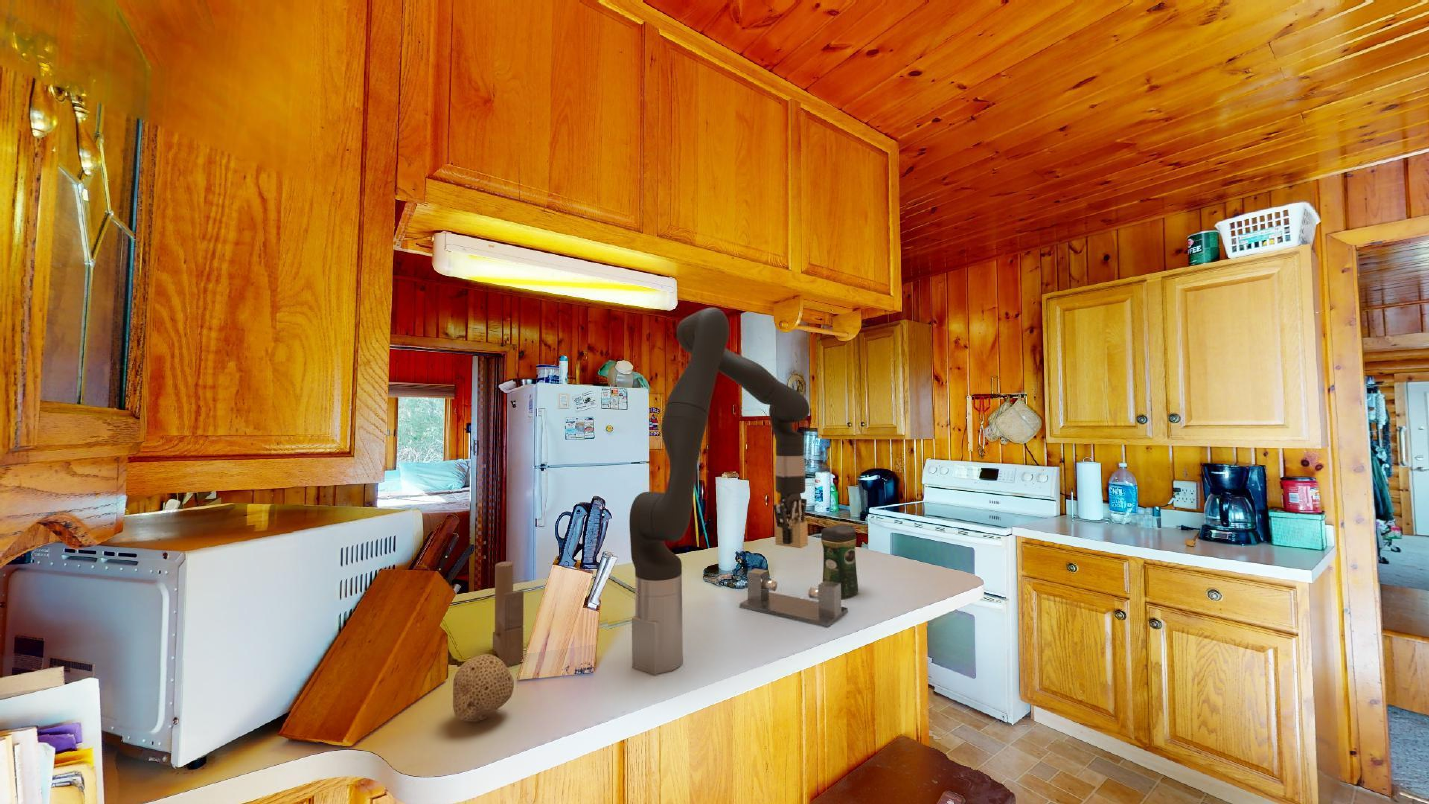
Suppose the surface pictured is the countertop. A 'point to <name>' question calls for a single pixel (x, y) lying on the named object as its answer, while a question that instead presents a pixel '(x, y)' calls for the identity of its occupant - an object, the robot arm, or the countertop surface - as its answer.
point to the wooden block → (508, 616)
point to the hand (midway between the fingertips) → (791, 541)
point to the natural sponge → (481, 687)
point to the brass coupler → (793, 534)
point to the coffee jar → (840, 557)
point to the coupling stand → (794, 601)
